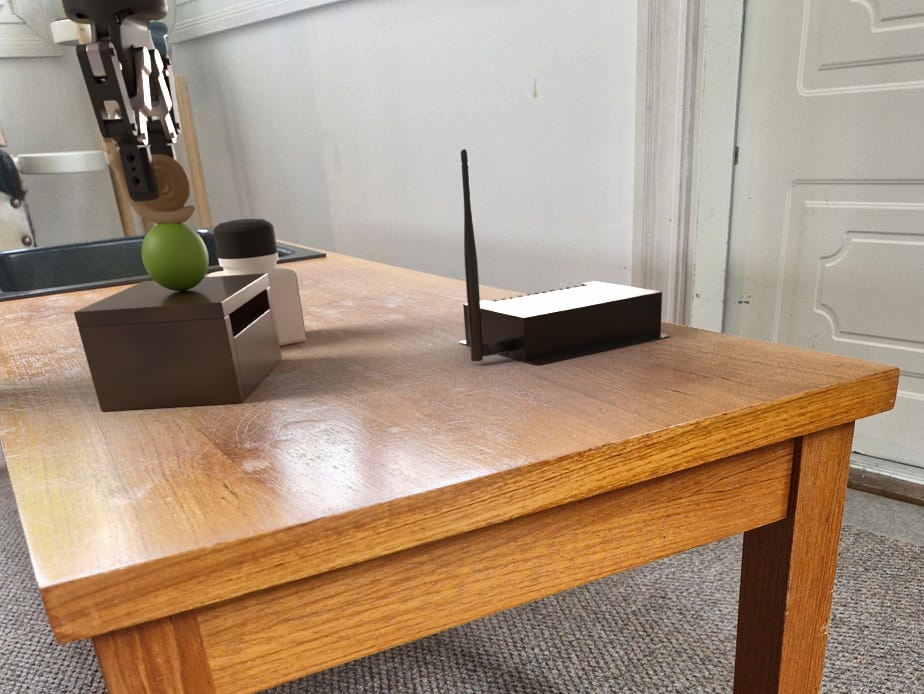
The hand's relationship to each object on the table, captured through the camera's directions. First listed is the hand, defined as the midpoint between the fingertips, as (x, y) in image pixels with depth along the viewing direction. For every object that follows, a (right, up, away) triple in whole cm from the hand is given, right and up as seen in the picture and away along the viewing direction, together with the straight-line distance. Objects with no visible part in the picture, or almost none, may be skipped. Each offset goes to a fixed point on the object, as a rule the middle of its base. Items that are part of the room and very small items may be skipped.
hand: (158, 196), depth 74 cm
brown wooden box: (+1, -13, +8) cm, 15 cm away
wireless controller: (+33, -8, +13) cm, 36 cm away
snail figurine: (0, -7, +4) cm, 8 cm away
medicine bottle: (+3, -5, +22) cm, 23 cm away
